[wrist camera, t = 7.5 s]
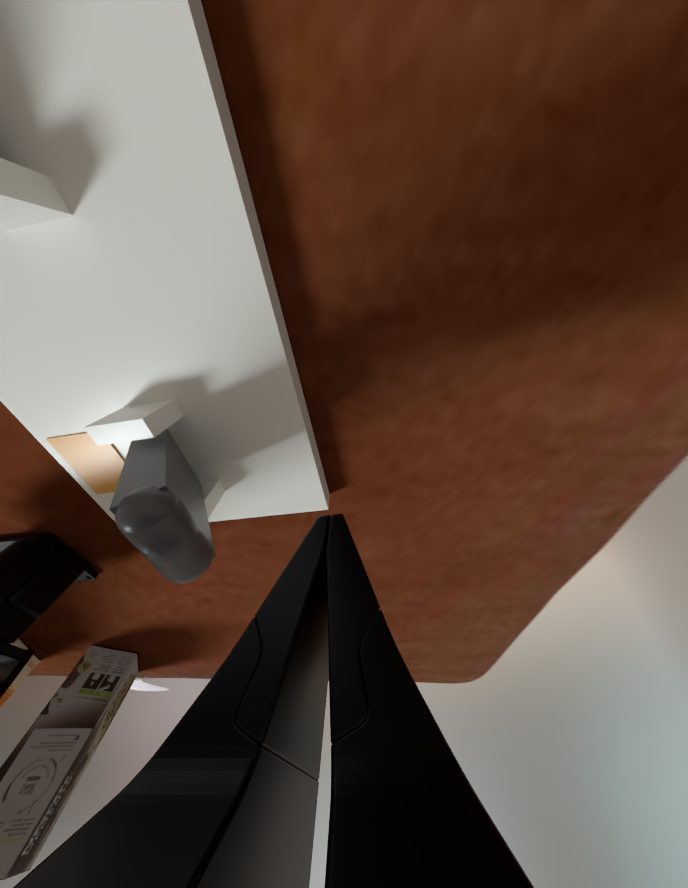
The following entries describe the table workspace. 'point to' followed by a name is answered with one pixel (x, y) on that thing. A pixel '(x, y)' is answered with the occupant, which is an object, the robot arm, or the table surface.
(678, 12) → the table surface
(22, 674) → the coffeecake box
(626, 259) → the table surface
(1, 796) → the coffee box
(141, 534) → the breaker lever
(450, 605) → the table surface
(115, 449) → the breaker panel
